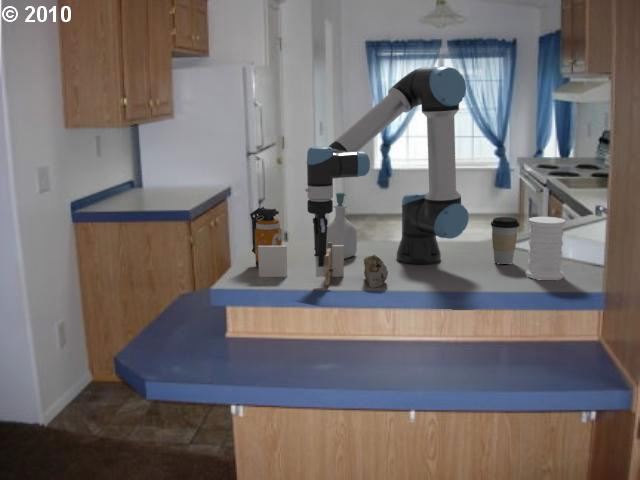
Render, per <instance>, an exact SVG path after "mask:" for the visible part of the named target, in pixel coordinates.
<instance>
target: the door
mask: <svg viewBox="0 0 640 480" xmlns="http://www.w3.org/2000/svg"><path fill="white" fill-rule="evenodd" d="M331 272H333V268H331V248H328V249H327V252H326V255H325V278H324V279H325V280H324V281H325V282H324V283H325V286H329V285H330V282H331V279H332V277H331Z"/></svg>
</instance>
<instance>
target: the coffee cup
mask: <svg viewBox="0 0 640 480" xmlns="http://www.w3.org/2000/svg"><path fill="white" fill-rule="evenodd" d="M492 219H493V220H492V221H491V222H490V226H491V229H492V230H491V232H492V233H491V241H492V250H493V261H494V262H495V263H499V264H510V263H512V264H513V263H514V262H513V261H514V255H515V250H516V244H517V239H518V229H519V228H520V226H521V225H520V223H519V221H518V218H514V217H508V216H506V217H504V216H501V217H494V218H492ZM495 263H494V264H495ZM499 264H498V265H499ZM510 265H511V264H510Z"/></svg>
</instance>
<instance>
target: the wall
mask: <svg viewBox="0 0 640 480" xmlns="http://www.w3.org/2000/svg"><path fill="white" fill-rule="evenodd" d="M287 247H288V246H287V245H282V246H258V261H259V267H258V278H288V250H287V249H288V248H287ZM328 248H331V268H333V272H331V278H335V277H337V278H338V277H339V278H340V277H345V275H344V273H345V272H344V271H345V270H344V269H345V266H344V264H345V263H344V260H345V259H344V245H333V242H327V249H328Z"/></svg>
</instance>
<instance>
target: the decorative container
mask: <svg viewBox="0 0 640 480" xmlns="http://www.w3.org/2000/svg"><path fill="white" fill-rule="evenodd" d="M528 224H529V225H530V229H529V235H530V236H529V241H528V244H529V249H528V255H529V256H528V260H527V263H528V268H527V269H526V270H525V271H524V276H525V275H526V276H528V277H530V278H534V279H541V280H556V281H560V280H562V279H564V272H563V271H562V270H561V267H562V256H563V251H562V247H563V245H564V242H563V236H564V230H563V229H564V228H563V227H565V226H566V219H564V218H560V217H556V216H555V217H553V216H535V217H534V216H533V217H530V218H528ZM526 276H525V277H526ZM528 277H527V278H528ZM530 278H529V279H530ZM534 279H533V280H534Z"/></svg>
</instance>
